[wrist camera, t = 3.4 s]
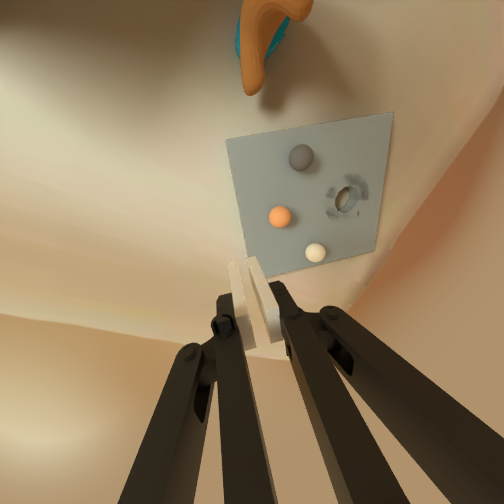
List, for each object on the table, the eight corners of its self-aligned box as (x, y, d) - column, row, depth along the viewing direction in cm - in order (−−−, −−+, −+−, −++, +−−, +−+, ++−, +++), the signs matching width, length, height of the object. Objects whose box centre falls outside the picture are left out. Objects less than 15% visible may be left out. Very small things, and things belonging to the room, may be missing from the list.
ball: (268, 226, 32) (273, 232, 29) (265, 206, 30) (271, 210, 27) (287, 222, 32) (294, 228, 29) (285, 202, 31) (293, 206, 28)
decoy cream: (302, 258, 36) (311, 267, 33) (301, 242, 34) (310, 250, 31) (319, 254, 36) (329, 263, 33) (319, 238, 35) (329, 245, 32)
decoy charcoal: (286, 172, 29) (294, 173, 26) (284, 147, 27) (293, 144, 24) (307, 168, 29) (318, 168, 26) (306, 143, 28) (318, 140, 25)
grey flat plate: (251, 274, 38) (253, 280, 36) (225, 141, 28) (226, 139, 26) (365, 246, 41) (374, 251, 38) (380, 115, 30) (393, 111, 28)
